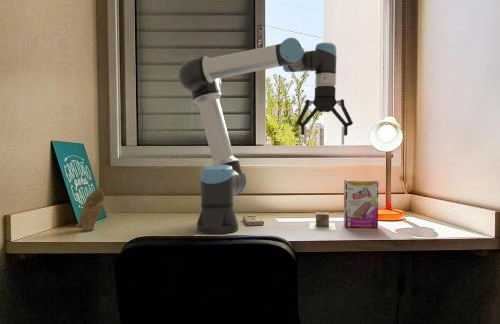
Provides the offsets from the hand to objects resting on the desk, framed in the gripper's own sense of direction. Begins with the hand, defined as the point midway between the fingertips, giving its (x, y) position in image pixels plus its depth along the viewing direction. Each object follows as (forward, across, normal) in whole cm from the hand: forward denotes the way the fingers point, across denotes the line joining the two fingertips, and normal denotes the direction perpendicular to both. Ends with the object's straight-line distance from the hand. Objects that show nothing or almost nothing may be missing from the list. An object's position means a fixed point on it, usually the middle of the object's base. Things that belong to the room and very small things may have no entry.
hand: (323, 144), depth 135 cm
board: (+30, +7, -5) cm, 32 cm away
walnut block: (+29, 0, -5) cm, 30 cm away
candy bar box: (+29, +14, -5) cm, 32 cm away
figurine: (+33, -83, -18) cm, 91 cm away
